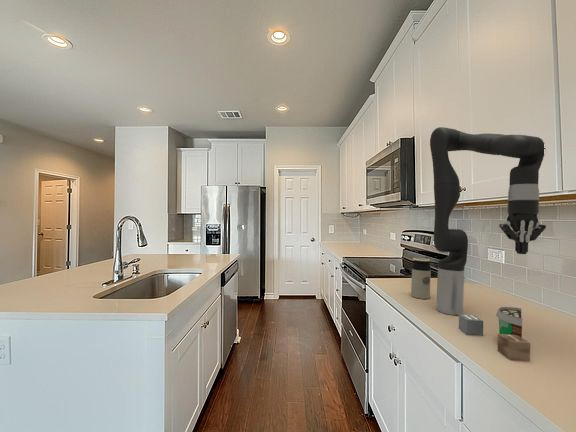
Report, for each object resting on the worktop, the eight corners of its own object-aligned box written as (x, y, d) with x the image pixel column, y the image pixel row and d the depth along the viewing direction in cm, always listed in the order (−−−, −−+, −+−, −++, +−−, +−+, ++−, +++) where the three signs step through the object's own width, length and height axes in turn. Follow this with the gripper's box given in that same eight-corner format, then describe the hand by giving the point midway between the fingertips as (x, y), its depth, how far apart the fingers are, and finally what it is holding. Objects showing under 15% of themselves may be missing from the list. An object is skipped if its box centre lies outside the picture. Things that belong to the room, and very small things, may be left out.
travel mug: (408, 294, 135) (409, 257, 135) (425, 294, 135) (426, 257, 135) (415, 299, 127) (416, 260, 127) (433, 299, 127) (434, 260, 127)
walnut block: (497, 351, 80) (498, 333, 80) (515, 352, 79) (516, 334, 79) (509, 360, 75) (510, 341, 75) (529, 361, 74) (530, 342, 74)
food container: (496, 333, 91) (496, 303, 91) (520, 339, 88) (521, 308, 87) (494, 347, 82) (495, 313, 82) (521, 354, 78) (522, 319, 78)
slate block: (458, 329, 95) (459, 314, 95) (473, 329, 95) (474, 314, 94) (466, 335, 90) (467, 319, 90) (482, 336, 90) (483, 320, 90)
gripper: (535, 200, 91) (533, 252, 91) (493, 199, 92) (491, 251, 92) (555, 199, 84) (554, 256, 84) (509, 198, 85) (507, 254, 85)
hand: (521, 253), depth 88 cm, fingers closed
